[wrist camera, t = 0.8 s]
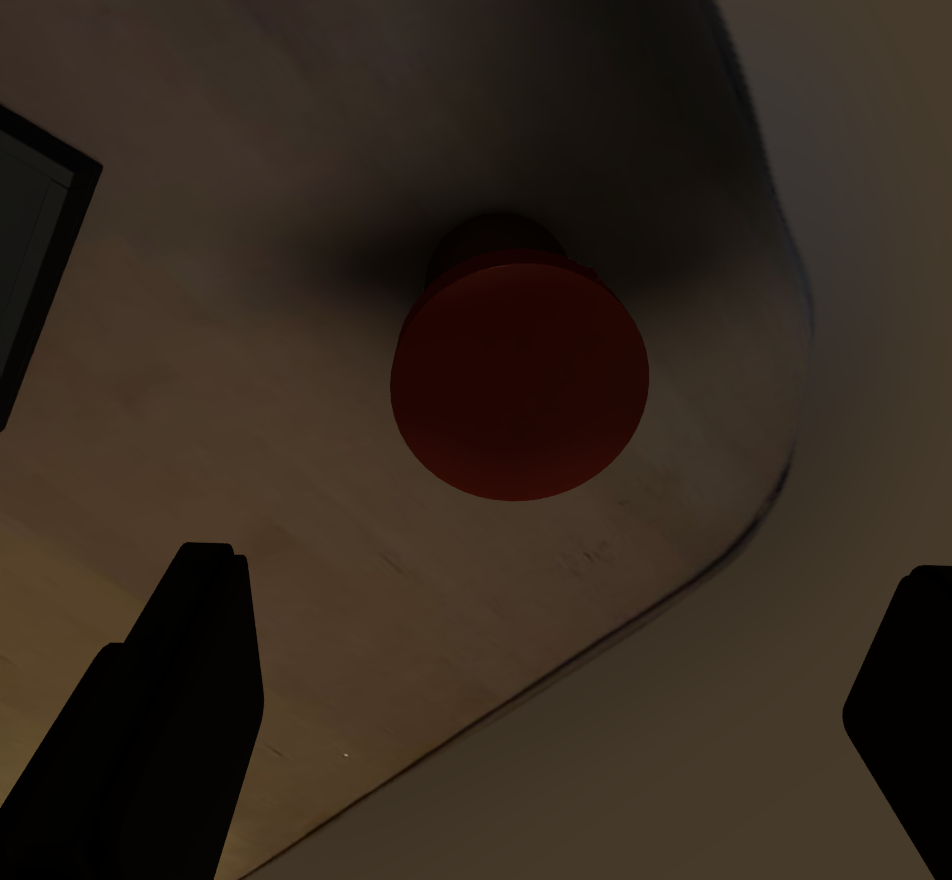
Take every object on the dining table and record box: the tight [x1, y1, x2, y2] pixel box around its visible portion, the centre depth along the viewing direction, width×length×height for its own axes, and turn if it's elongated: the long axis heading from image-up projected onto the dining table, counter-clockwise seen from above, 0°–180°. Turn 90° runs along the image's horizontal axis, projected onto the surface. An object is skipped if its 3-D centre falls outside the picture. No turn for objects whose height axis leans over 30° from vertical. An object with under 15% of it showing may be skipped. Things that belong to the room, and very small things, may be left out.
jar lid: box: [390, 248, 649, 501], centre depth 18 cm, size 7×7×2 cm
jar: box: [423, 212, 569, 291], centre depth 21 cm, size 6×6×9 cm
